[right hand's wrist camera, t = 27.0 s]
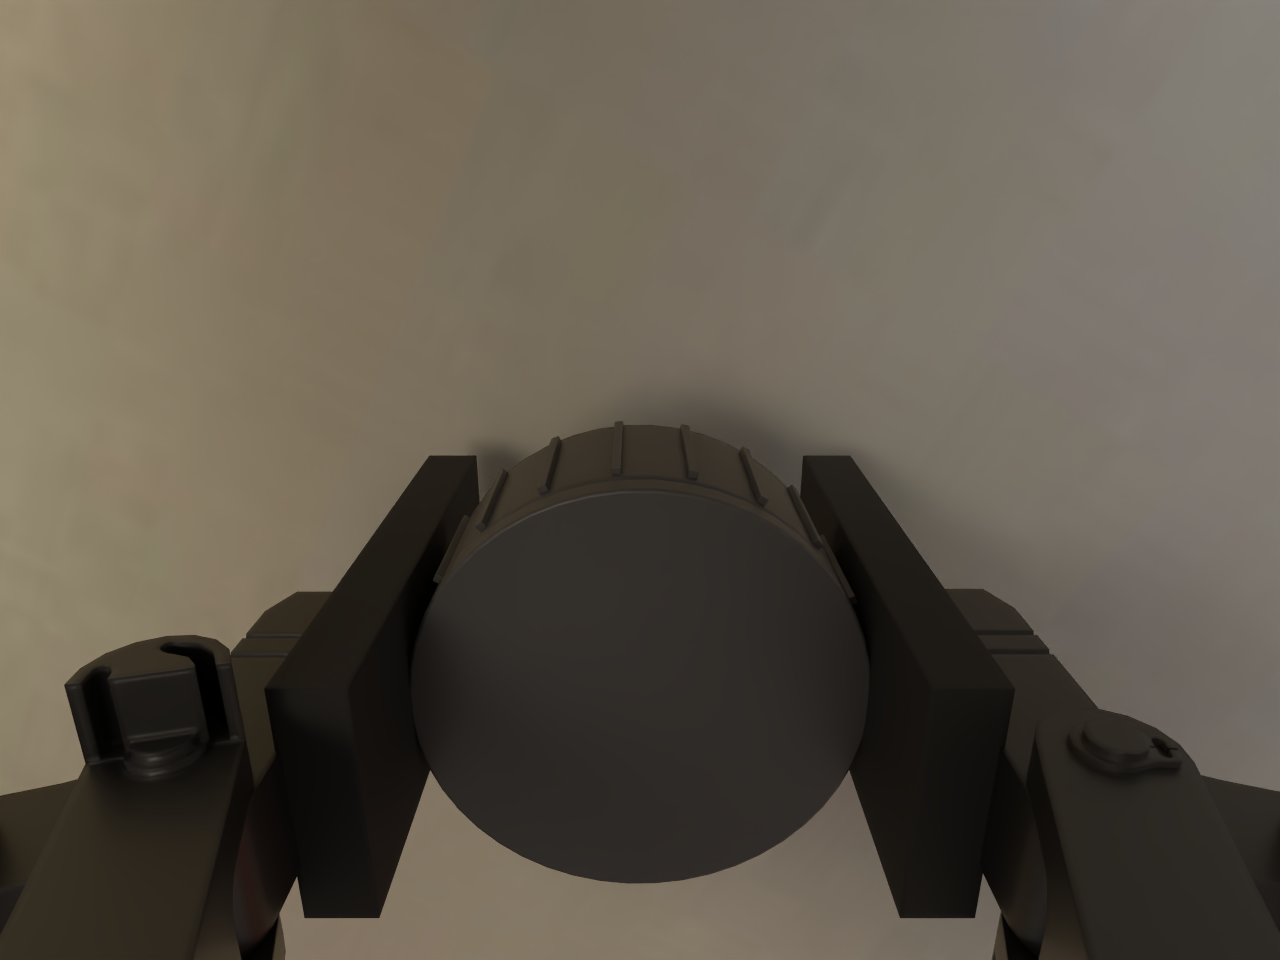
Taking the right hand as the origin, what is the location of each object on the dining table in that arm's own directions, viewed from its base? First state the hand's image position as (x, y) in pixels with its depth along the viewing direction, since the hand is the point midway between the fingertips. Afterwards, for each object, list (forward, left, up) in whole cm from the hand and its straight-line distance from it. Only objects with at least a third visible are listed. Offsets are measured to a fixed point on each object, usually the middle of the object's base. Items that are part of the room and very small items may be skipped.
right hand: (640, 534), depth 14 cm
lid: (0, 0, +4) cm, 4 cm away
